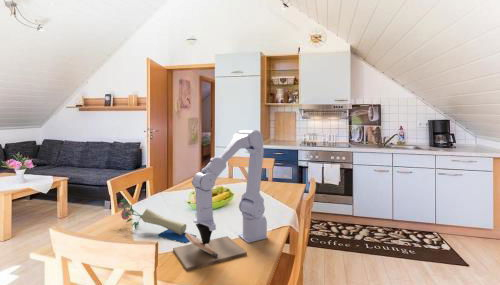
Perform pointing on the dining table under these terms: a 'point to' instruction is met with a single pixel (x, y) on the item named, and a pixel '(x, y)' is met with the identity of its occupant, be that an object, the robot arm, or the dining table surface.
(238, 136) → the robot arm
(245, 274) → the dining table surface
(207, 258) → the board
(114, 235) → the dining table surface
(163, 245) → the dining table surface
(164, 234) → the blue flat pad
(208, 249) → the tile
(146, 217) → the flower vase
